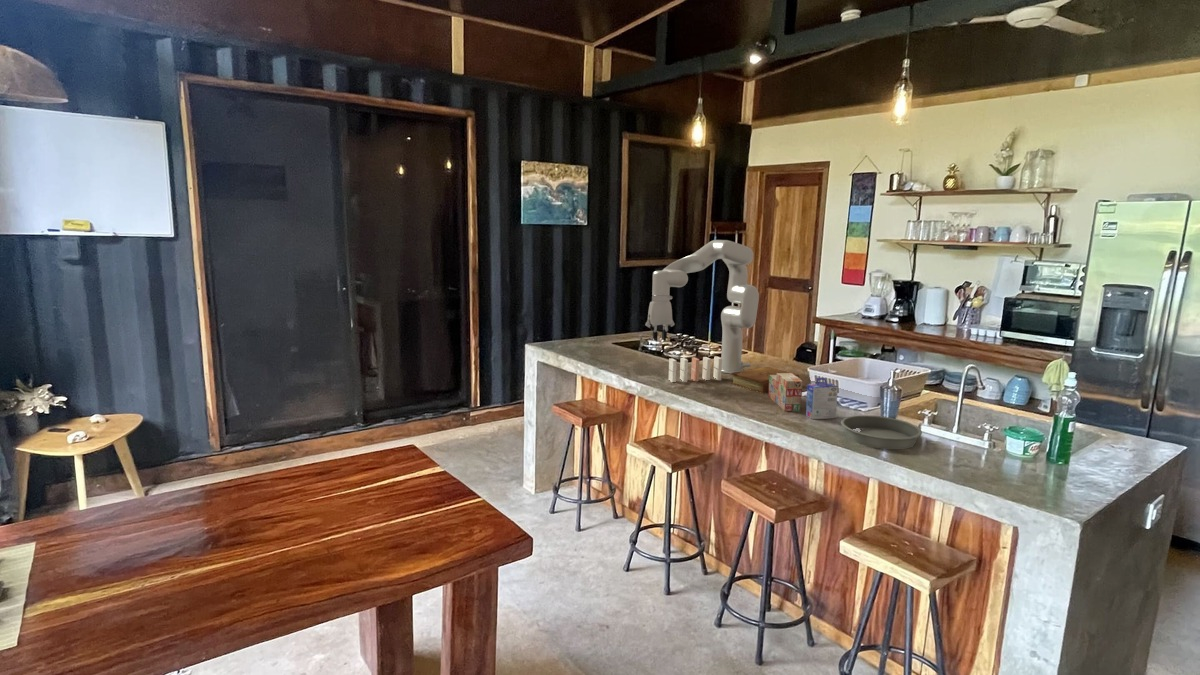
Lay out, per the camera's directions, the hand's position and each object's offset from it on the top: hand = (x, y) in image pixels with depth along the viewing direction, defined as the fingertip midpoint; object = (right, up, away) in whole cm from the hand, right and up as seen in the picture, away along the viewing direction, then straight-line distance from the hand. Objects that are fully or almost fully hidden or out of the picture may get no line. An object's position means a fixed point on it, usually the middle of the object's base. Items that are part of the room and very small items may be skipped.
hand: (659, 339), depth 278 cm
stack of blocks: (+47, -26, -29) cm, 60 cm away
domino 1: (+11, -19, +6) cm, 23 cm away
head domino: (+6, -19, +5) cm, 20 cm away
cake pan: (+67, -33, -68) cm, 101 cm away
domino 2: (+22, -18, +9) cm, 30 cm away
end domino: (+27, -18, +10) cm, 34 cm away
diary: (+47, -21, 0) cm, 51 cm away
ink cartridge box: (+55, -29, -46) cm, 77 cm away
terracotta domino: (+17, -18, +8) cm, 26 cm away
